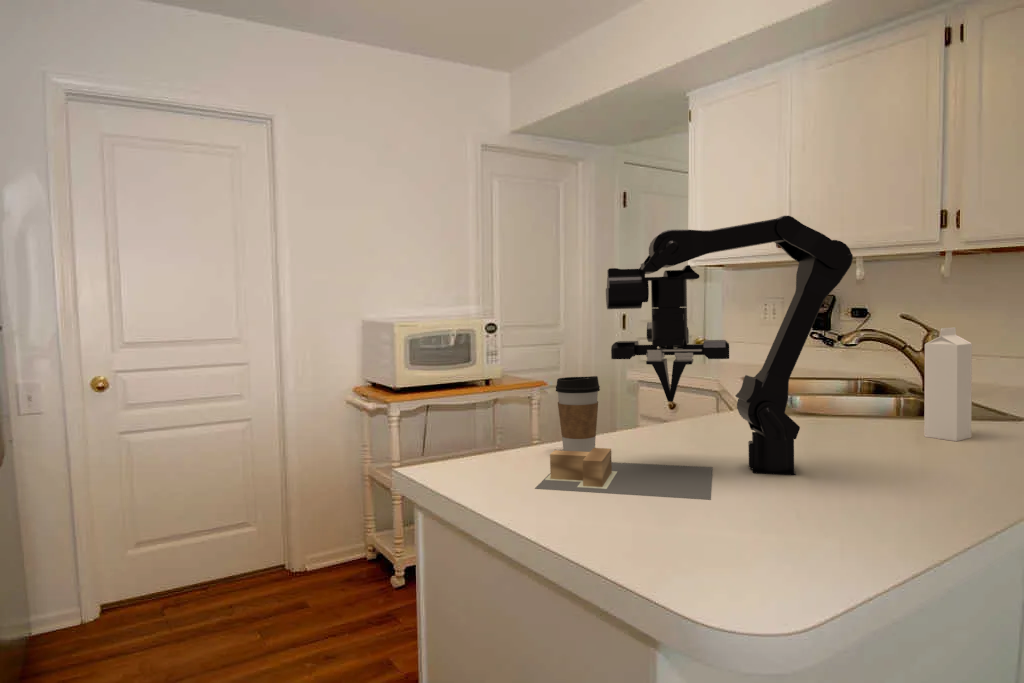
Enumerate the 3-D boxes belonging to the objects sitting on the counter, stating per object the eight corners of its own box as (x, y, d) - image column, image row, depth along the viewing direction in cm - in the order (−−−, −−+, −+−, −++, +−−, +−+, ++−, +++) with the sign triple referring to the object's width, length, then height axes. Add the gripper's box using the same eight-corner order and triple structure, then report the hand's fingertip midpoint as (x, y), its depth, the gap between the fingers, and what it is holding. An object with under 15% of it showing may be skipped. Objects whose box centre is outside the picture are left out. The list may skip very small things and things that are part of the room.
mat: (712, 469, 108) (712, 466, 108) (710, 502, 90) (710, 499, 90) (563, 462, 117) (563, 459, 117) (534, 491, 99) (534, 488, 99)
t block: (611, 472, 107) (611, 448, 107) (602, 486, 98) (601, 461, 98) (559, 469, 110) (558, 446, 109) (545, 483, 101) (545, 458, 101)
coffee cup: (587, 461, 116) (585, 379, 116) (548, 456, 122) (546, 377, 121) (609, 452, 123) (607, 375, 122) (572, 447, 128) (570, 373, 127)
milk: (924, 437, 129) (923, 328, 128) (939, 433, 132) (938, 326, 131) (957, 441, 124) (957, 328, 123) (972, 437, 127) (972, 327, 126)
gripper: (728, 306, 111) (729, 395, 111) (620, 309, 116) (621, 394, 117) (728, 306, 100) (729, 405, 101) (609, 309, 106) (611, 403, 107)
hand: (670, 401), depth 107 cm, fingers closed
